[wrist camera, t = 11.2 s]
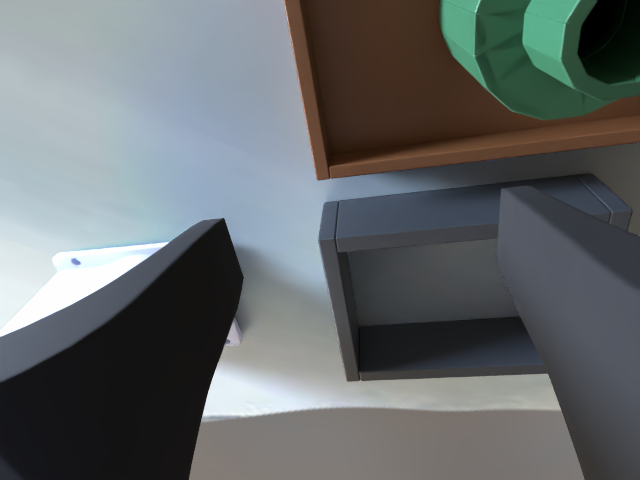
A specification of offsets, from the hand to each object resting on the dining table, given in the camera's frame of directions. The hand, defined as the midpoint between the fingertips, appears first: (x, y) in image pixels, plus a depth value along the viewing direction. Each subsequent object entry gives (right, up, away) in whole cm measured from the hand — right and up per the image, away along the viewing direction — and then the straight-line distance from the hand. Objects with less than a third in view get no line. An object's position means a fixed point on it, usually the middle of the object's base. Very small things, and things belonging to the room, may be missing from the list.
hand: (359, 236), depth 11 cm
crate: (+6, -2, +12) cm, 13 cm away
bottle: (+6, +9, +4) cm, 11 cm away
